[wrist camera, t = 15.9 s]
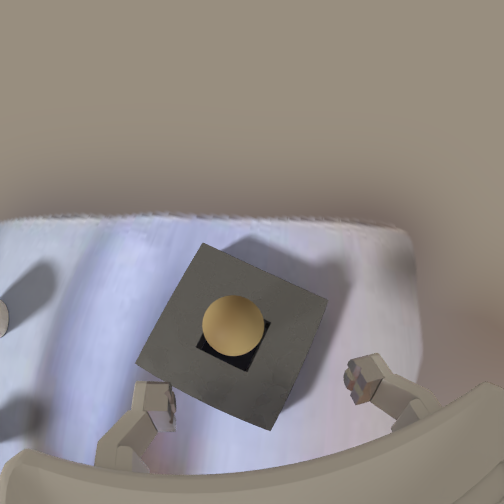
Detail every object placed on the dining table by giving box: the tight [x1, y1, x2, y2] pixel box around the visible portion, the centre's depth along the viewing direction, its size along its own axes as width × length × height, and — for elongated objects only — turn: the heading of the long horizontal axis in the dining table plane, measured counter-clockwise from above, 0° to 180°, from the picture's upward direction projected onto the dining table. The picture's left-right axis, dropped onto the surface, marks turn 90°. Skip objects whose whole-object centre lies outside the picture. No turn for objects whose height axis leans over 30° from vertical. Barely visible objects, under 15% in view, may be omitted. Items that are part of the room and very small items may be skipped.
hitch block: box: [135, 243, 328, 431], centre depth 30 cm, size 16×16×5 cm
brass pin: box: [202, 295, 264, 356], centre depth 27 cm, size 5×5×12 cm
